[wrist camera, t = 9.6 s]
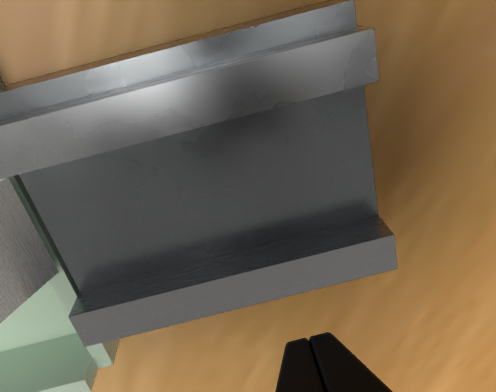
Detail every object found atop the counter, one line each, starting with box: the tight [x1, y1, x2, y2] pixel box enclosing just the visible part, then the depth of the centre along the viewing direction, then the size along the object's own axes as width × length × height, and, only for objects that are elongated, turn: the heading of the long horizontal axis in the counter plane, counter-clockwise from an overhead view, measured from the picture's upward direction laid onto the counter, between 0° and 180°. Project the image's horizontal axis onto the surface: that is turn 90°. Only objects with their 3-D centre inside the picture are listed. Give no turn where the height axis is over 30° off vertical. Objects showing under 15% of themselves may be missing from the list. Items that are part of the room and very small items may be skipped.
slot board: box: [0, 0, 397, 347], centre depth 16 cm, size 12×10×4 cm
